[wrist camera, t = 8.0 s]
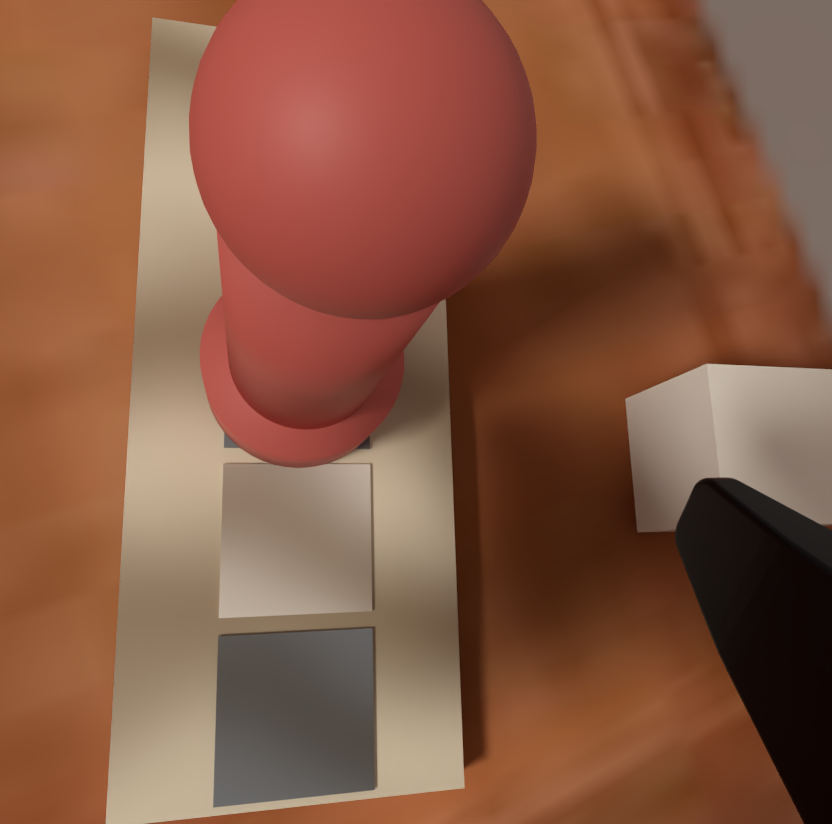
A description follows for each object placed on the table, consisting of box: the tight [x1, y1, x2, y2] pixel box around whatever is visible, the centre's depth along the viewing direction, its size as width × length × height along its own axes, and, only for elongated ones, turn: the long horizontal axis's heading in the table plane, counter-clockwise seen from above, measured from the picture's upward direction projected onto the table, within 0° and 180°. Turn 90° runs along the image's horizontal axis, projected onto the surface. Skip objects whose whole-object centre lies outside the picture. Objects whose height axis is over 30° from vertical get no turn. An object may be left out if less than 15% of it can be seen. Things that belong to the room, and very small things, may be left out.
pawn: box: [189, 0, 536, 468], centre depth 12 cm, size 5×5×12 cm
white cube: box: [625, 364, 832, 532], centre depth 19 cm, size 4×4×4 cm
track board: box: [106, 18, 464, 824], centre depth 18 cm, size 20×8×1 cm, turn 2°
